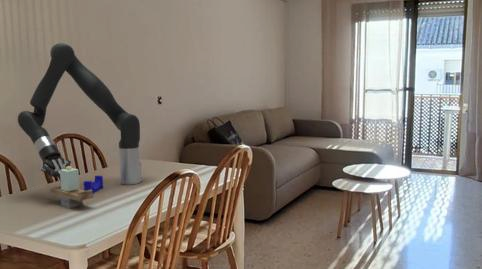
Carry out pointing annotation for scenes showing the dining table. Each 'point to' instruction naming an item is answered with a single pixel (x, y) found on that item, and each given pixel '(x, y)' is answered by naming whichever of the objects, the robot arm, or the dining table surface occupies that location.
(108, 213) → the dining table surface
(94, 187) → the cable clip
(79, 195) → the beam
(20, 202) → the dining table surface
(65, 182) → the block
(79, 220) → the dining table surface
